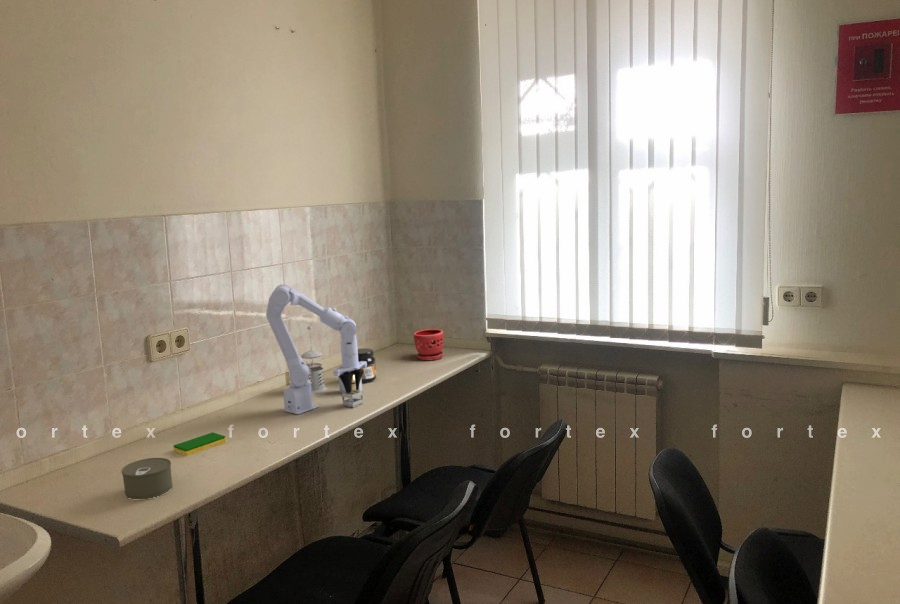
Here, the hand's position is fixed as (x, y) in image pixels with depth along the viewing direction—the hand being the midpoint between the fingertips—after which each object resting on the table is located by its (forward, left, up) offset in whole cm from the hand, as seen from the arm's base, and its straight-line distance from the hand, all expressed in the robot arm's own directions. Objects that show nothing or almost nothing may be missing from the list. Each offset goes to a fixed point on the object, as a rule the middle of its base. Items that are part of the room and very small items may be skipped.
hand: (352, 391), depth 259 cm
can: (-82, -5, -5) cm, 82 cm away
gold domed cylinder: (0, 0, -2) cm, 2 cm away
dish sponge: (-55, +12, -6) cm, 56 cm away
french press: (+5, +27, -5) cm, 28 cm away
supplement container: (+25, +20, -5) cm, 33 cm away
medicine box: (+11, +13, -5) cm, 18 cm away
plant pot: (+66, +19, -5) cm, 69 cm away
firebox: (0, 0, -5) cm, 5 cm away
